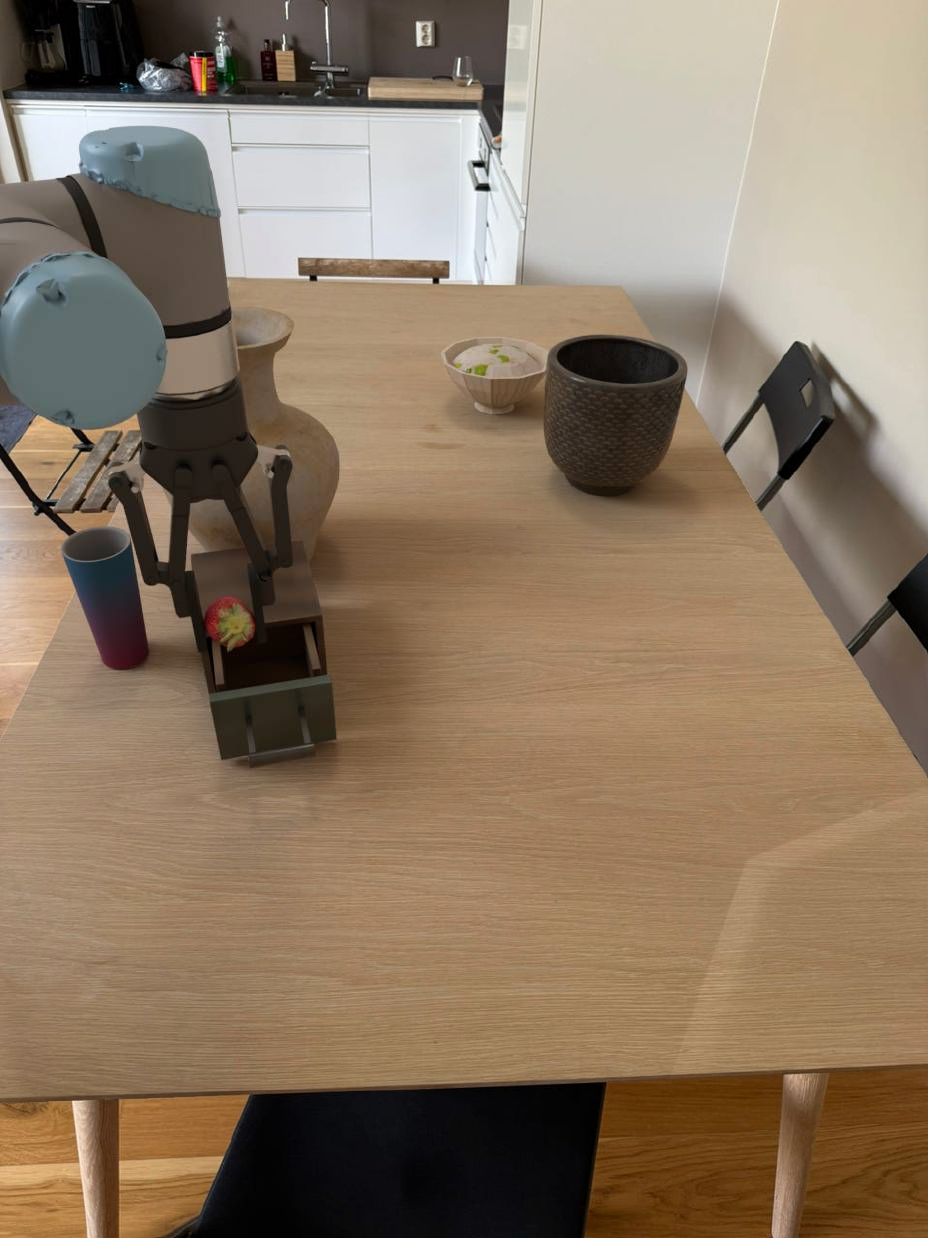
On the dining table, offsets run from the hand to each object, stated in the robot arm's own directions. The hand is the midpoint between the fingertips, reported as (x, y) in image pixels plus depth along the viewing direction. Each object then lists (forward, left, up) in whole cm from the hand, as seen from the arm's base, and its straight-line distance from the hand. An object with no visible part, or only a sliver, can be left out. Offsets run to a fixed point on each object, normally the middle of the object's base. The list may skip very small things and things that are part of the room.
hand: (232, 637), depth 77 cm
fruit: (0, 0, 0) cm, 0 cm away
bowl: (+49, +76, -17) cm, 92 cm away
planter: (+57, +47, -17) cm, 76 cm away
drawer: (+3, +5, -16) cm, 17 cm away
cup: (-12, +21, -17) cm, 30 cm away
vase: (+5, +39, -17) cm, 43 cm away
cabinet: (+3, +18, -17) cm, 25 cm away
